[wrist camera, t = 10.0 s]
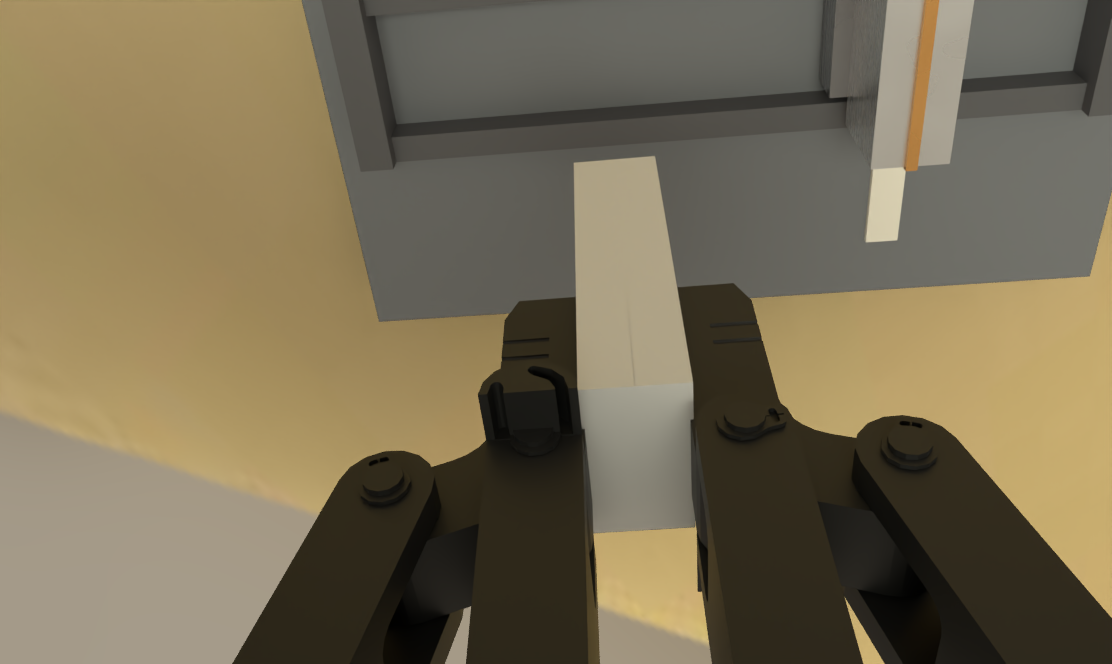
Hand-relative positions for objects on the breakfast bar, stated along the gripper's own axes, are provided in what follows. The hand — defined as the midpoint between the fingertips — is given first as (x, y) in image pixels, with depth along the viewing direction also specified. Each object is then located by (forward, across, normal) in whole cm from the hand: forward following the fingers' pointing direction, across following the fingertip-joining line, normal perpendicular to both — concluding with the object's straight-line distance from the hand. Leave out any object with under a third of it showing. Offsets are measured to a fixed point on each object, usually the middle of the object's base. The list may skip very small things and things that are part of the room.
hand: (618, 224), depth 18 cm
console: (+13, +4, -1) cm, 14 cm away
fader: (+11, +8, -1) cm, 14 cm away
